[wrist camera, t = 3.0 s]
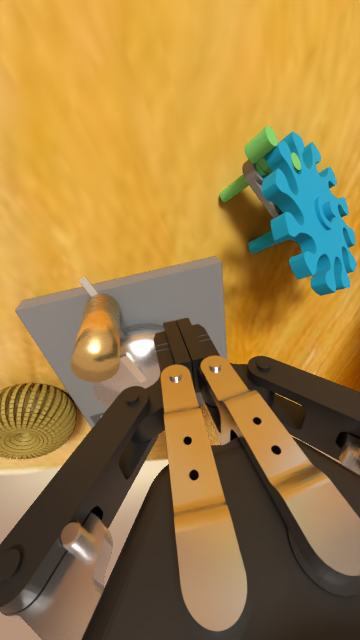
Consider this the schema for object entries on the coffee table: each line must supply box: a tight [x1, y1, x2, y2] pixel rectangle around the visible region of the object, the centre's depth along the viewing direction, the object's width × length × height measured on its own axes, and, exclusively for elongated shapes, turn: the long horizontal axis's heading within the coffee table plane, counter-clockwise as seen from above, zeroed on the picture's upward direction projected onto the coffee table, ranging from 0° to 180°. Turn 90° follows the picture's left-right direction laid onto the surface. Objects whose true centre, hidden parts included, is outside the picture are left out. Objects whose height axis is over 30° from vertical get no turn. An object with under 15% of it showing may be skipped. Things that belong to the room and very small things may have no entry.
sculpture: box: [0, 383, 77, 459], centre depth 21 cm, size 8×4×8 cm
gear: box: [220, 126, 357, 296], centre depth 16 cm, size 11×6×10 cm
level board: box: [15, 256, 227, 428], centre depth 22 cm, size 15×18×2 cm
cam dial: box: [70, 294, 164, 408], centre depth 19 cm, size 16×8×6 cm, turn 25°
